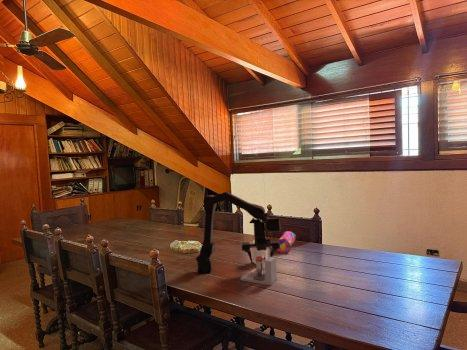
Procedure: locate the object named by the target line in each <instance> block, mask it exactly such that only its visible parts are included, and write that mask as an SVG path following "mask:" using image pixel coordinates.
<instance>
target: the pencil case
mask: <svg viewBox="0 0 467 350" xmlns="http://www.w3.org/2000/svg"><path fill="white" fill-rule="evenodd" d="M296 240H297V235H296V234H295V233H294V232H293V231H291V230H290V231H288V230H287V231H285V232H283V234H282V235H281V237H280V238H279V239H278V240H277V241H278V242H279V244H280V249H277V250H276V251H278V252H279V253H282V254H283V253H285V254H286V253H288V252H289V251H290V250H291V249H292V247H293V245H294V243H295V242H296Z"/></svg>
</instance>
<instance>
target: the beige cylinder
mask: <svg viewBox="0 0 467 350" xmlns="http://www.w3.org/2000/svg"><path fill="white" fill-rule="evenodd" d="M251 244H255V243H254V240H253V241H252V243H251ZM251 250H252V251H251V254H252V264H253V263H254V264H255V265H256V256H259V255H263V256H265V259H268V258H269V256H268V249H267V250H260V251H258V250H257V248H251Z"/></svg>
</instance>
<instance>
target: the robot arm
mask: <svg viewBox="0 0 467 350" xmlns="http://www.w3.org/2000/svg"><path fill="white" fill-rule="evenodd" d="M223 201H224V202H225V201H226V202H228V203H230V204H232V205H234V206H236V207H237V208H240V209H242V210H244V211H245V212H247V213H248V215H250V216H252V217H253V218H251V220H250V221H249V224H253V236H254V237H253V241H254V243H255V244H252V243H250V242H249V241H247V242H246V241H244V242H241V245H240V246H241V251H244V253H247V254H248V257H249V260H250V263H251V264H253V255H252V251H251V249H252V248H257V250H258V251H260V250H267V251H268V248H269V257H274V253H275V252H276V251H278V250H277V249H280V244H279V242H278V240H271V239H267V238H266V237H267V236H266V235H267V234H266V230H267V231H268V232H273V233H280V232H281V220H280V217H270V216H268V214H267V212H266V209H265V208H264V207H263V206H262V205H258V204H255V203H251V202H248V201H247V200H244V199H242V198H241V197H238V196H236V195H234V194H232V193H230V192H229V191H224V192H222V193H219V194H216V195H215V194H209V195H207V196H206V197H205V198H203V201H202V202H203V209H204V213H205V216H204V217H205V218H204V231H203V240H202V241H203V242H202V244H201V246H200V249H199V250H200V251H199V254H198V255H197V256H196V258H195V259H196V262H197V274H198V275H199V274H200V275H201V274H210V273H211V271H212V269H213V268H212V261H211V256H212V255H213V254H214V252H215V251H216V242H214V241H213V232H214V217H215V211H216V208H217V205H218V203H221V202H223Z"/></svg>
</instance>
